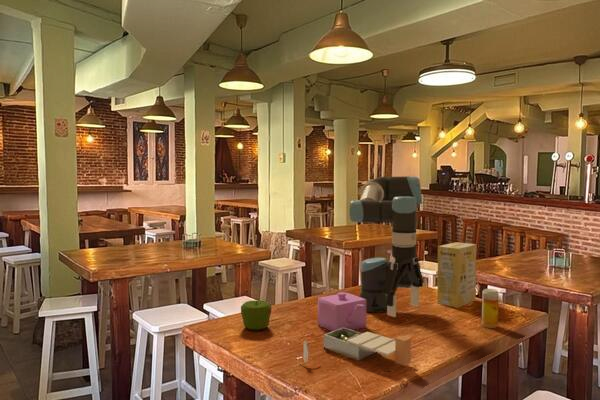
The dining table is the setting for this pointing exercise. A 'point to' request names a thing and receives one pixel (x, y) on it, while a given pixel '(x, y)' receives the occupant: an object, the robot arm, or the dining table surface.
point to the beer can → (490, 308)
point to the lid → (385, 346)
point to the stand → (306, 351)
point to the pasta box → (456, 274)
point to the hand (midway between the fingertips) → (403, 310)
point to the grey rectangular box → (345, 343)
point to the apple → (256, 314)
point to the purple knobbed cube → (342, 311)
